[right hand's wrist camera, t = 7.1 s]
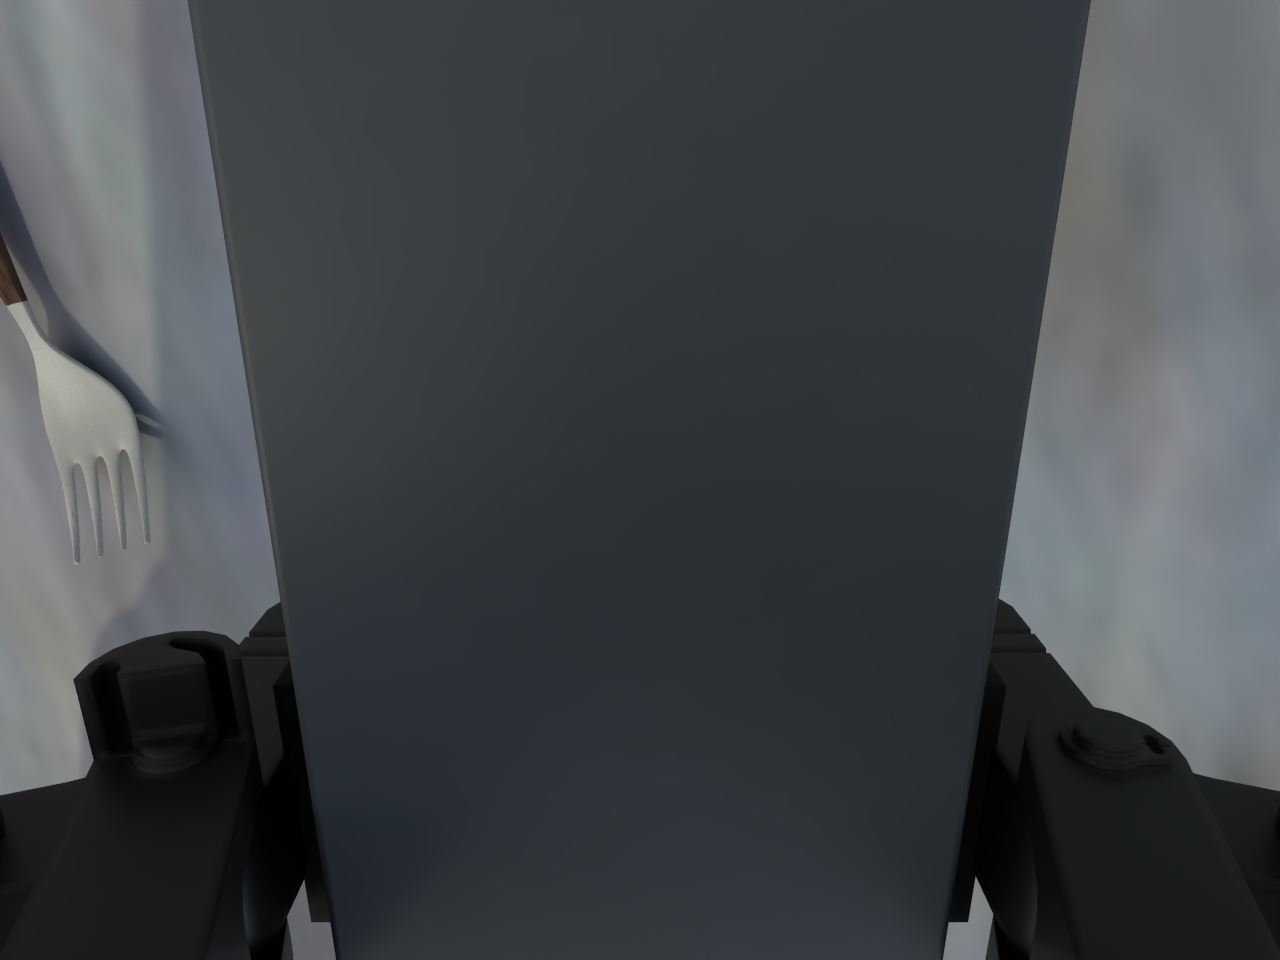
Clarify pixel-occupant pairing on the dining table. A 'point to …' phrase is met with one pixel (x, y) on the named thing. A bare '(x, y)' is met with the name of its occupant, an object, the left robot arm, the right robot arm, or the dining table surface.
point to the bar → (639, 448)
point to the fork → (79, 418)
